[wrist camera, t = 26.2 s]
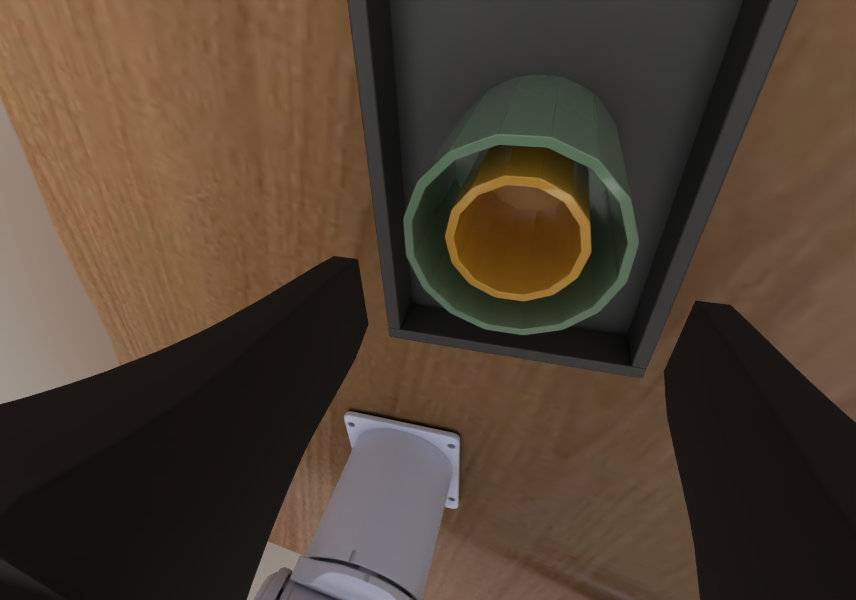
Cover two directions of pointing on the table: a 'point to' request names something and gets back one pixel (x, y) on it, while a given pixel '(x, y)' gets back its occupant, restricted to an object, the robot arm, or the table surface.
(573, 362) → the tray
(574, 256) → the mustard cup
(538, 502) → the table surface
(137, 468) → the robot arm
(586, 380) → the table surface
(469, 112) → the green cup
